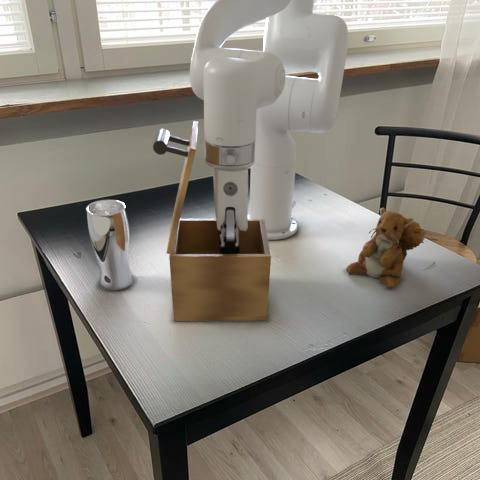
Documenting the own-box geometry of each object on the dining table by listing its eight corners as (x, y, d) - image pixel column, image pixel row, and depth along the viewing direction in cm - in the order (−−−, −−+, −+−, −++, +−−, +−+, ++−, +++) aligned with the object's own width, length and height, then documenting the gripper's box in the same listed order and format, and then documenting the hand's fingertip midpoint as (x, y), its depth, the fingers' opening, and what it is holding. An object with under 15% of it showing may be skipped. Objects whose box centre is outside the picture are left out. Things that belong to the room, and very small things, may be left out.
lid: (198, 122, 78) (162, 111, 77) (195, 149, 67) (153, 138, 66) (177, 216, 88) (144, 208, 86) (171, 254, 76) (133, 246, 75)
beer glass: (100, 272, 96) (88, 199, 87) (136, 272, 97) (128, 198, 88) (95, 292, 91) (81, 216, 82) (133, 291, 91) (124, 215, 82)
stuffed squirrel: (342, 273, 98) (352, 211, 90) (380, 250, 106) (392, 190, 98) (386, 293, 92) (401, 228, 85) (423, 267, 101) (440, 205, 93)
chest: (260, 278, 96) (264, 218, 89) (266, 320, 85) (271, 256, 77) (178, 278, 95) (174, 218, 88) (173, 321, 84) (169, 256, 77)
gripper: (259, 172, 68) (254, 284, 78) (251, 135, 82) (248, 235, 92) (203, 172, 67) (206, 285, 78) (205, 134, 81) (207, 235, 92)
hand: (229, 257), depth 85 cm, fingers open, 5 cm apart
